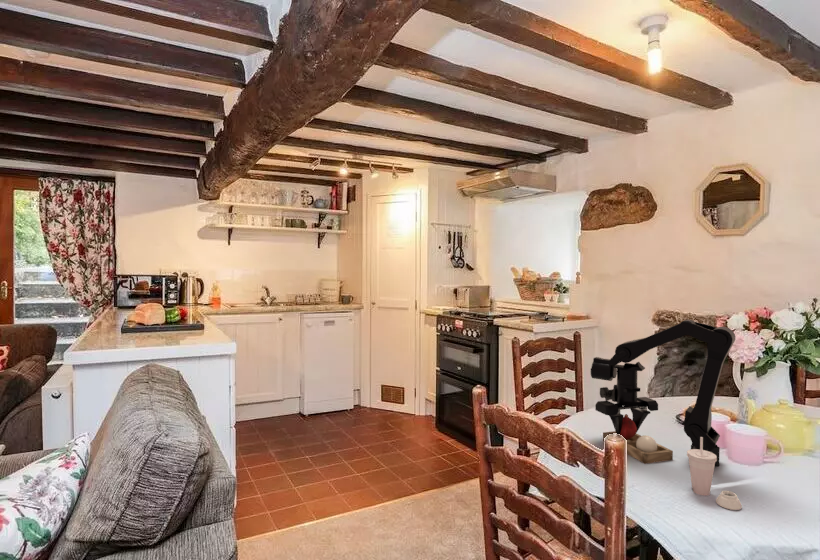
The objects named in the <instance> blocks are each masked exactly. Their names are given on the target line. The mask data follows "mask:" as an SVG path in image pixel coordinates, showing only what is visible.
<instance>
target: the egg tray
mask: <svg viewBox="0 0 820 560" xmlns="http://www.w3.org/2000/svg"><path fill="white" fill-rule="evenodd" d="M613 433H616V431H615V430H614V431H605V432H602V441H603V442H605V441H604V438H605V437H606V436H607V435H609V434H613ZM641 436H642V435H641V434H639V433H636V434H635V436H633V437H632V438H631V439H629V440H627V454H626V455H628V456H630V457H632V458H634V459H636V460H637V461H639V462H641V463H642V464H652V463H659V462H665V461H666V462H667V461H673V457H674V456H673V455H674V451H673V450H672V449H670V448H667V447H665V446H663V445H661V444H659V443H657V451H656V452H648V453H645V452H643V451H641V450H639V449H637V447H636V441H637V439H638V438H639V437H641Z"/></svg>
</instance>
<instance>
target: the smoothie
mask: <svg viewBox="0 0 820 560" xmlns="http://www.w3.org/2000/svg"><path fill="white" fill-rule="evenodd" d="M686 453H687V454H686V456H687V458H688V464H689V472H690V480H691V490H692V492H693V493H694V494H696V495H699V496H705V497H707V496H710V495H711V488H712V482H713V478H714V477H713V476H714V470H715V467H714V466H715V462H716V461H717V456H716V455H715V454H713V453H711V452H709V451H705V450H703V437H700V449H691V448H690V449H688V450H687V451H686Z"/></svg>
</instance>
